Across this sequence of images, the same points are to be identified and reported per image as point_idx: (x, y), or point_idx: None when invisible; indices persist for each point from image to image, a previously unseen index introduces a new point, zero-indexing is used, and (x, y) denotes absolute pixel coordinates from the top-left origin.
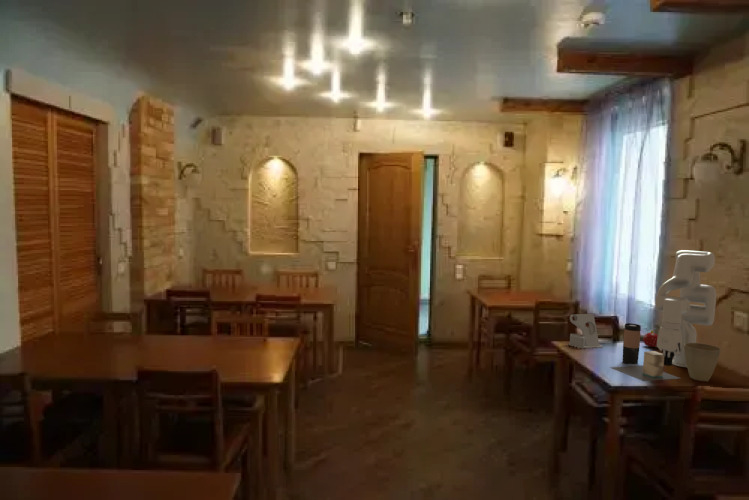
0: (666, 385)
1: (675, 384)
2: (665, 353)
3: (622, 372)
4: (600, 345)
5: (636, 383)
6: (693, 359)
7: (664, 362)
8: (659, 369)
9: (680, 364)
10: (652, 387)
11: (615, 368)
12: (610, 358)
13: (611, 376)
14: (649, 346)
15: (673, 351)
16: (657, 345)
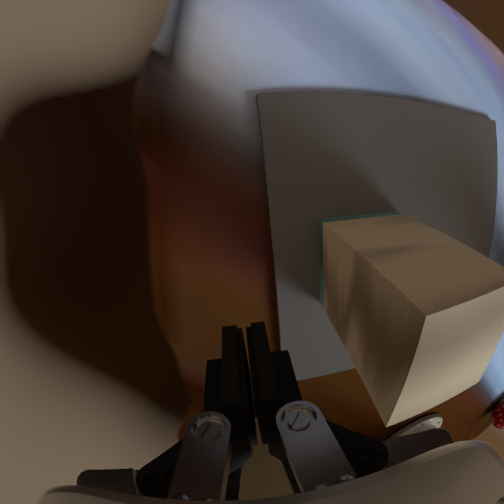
0: (175, 224)
1: (197, 300)
2: (283, 447)
3: (437, 106)
4: None
5: (236, 32)
6: (255, 498)
7: (257, 338)
8: (340, 303)
9: (406, 432)
10: (139, 89)
11: (485, 135)
12: None
13: (384, 4)
14: (500, 400)
15: (45, 491)
16: (483, 465)
